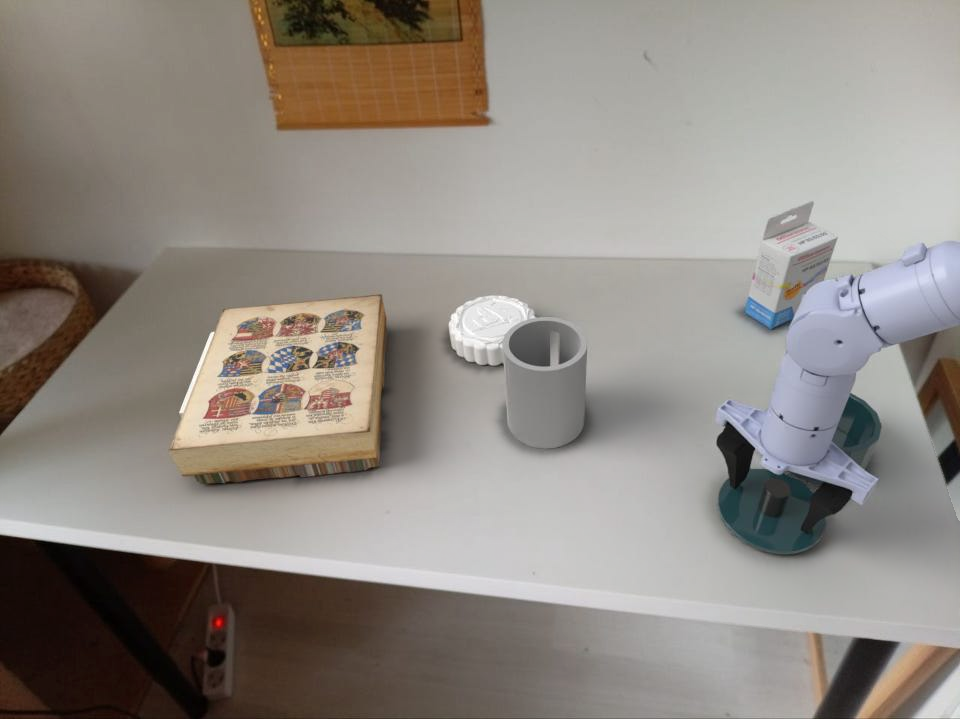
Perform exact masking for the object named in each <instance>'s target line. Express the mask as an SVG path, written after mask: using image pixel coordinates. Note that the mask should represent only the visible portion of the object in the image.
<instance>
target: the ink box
mask: <svg viewBox="0 0 960 719" xmlns="http://www.w3.org/2000/svg"><path fill="white" fill-rule="evenodd" d="M813 208H814V201H813V200H811V201H808V202H806V203H804V204H801V205H798V206H794V207H792V208H790V209H787V210H785V211H783V212H780V213H779V214H776V215H773V216H770V217H769V218H768V220H767V222H766V226H765V228H764V232H763V237H762V239H761V240H760V244H759V250H758V254H757V258H756V263H755V266H754V270H753V274H752V278H751V283H750V287H749V292H748V295H747V300H746V304H745V309H744V313H745V314H746V315H748V316H749V317H751V318H752V319H754V320H756V321H757V322H759V323H760V324H762V325H763V326H765V327H766V328H768V329H769V330H772V329H774V328H777V327H779V326H781V325H783V324H785V323H788V322H790V321H792V320H793V318H794V316H795V314H796V311H797V309H798V307H799V305H800V303H801V298H802V296H803V295H804V294H806V293H807V291H808V290H809V289H810V288H811V287H812V286H813V285H815V284H817V283H819V282H821V281H824V280H825V279H826V274H827V273H828V268H829V266H830V263H831V260H832V256H833V253H834V250H835V248H836V244H837V241H838V239H839V237H838V235H836V234H833V233H832V232H829V231H828V230H826V229H824V228H823V227H821V226H818V225H817V224H815V223H813V222H811V221H809V220H810V217H811V214H812V210H813ZM790 216H791V217H794V216H795V218H793V219H791V220H789V221H785V222H783V221H784V220H787V219H788V218H789V217H790ZM782 222H783V223H782Z"/></svg>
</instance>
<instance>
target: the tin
mask: <svg viewBox="0 0 960 719" xmlns="http://www.w3.org/2000/svg"><path fill="white" fill-rule="evenodd" d="M882 429H883V425H882V422H881V420H880V417H879V414H878V413H877V411H875V410H874V408H872V406H871V405H870V404H869V403H868V402H867V401H865V400H864V399H862V397H859V396H857V395H856V394H854V393H852V392H851V393H850V395H849V398H848V400H847V403H846V405H845V408H844V410H843V413H842V415H841V418H840V421H839V423H838V426H837V428H836V431H835V433H834V436H833V438H832V442H833V443H834V444H835V445H836V446H838V447H839V448H840V449H841V450H842V451H843V452H844V453H845V454H847V455H848V456H849V457H850V458H851V459H852V460H853V461H854V462H855V463H857V464H858V465H859V466H860V467H861V468H863V469H864V470H865V471H866V468H867V466H868V464H869V462H870V460H871V457H872V456H873V453H874V451H875V448H876V447H877V444H878V442H879V440H880V437H881V432H882ZM789 473H791V474H793V475H794V476H796V477H798V478H799V479H801V480H804V481H807V482H811V483H813V484H818V485H821V484H823V482H824V481H821V480H818V479H814V478H811V477H808V476H804V475H801V474H797V473H794V472H791V471H789Z"/></svg>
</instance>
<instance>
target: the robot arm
mask: <svg viewBox="0 0 960 719" xmlns="http://www.w3.org/2000/svg"><path fill="white" fill-rule="evenodd" d="M958 326H960V241H956V240H945V241H942V242H940V243H937V244H935V245H932V246H930V247H927V246H926V244H925V243H924V242H919V243H916V244H914V245H910V246H909V247H906V248H904V250H903V253H902V256H901V258H900V259H897V260H895V261H892V262H889V263H887V264H884V265H883V266H879V267H876V268H874V269H872V270H869V271H867V272H865V273H862V274H859V275H857V276H854V275H853V274H852V273H849V274H847V275H844V276H841V277H839V278H830V279H829V278H828V279H824V281H821V282H819V283H817V284H815V285H813V286H812V287H811V288H810V289H809V290H808V291H807V293H806V294H804V295H803V296H802V298H801V303H800V305H799V307H798V309H797V311H796V314H795V316H794V318H793V319H792V320H791V322H790V324H789V326H788V329H787V332H786V336H785V348H786V349H785V354H784V355H783V357H782V359H781V361H780V364H779V368H778V372H777V375H776V378H775V381H774V384H773V385H774V386H773V389H772V392H771V395H770V399H769V403H768V406H767V410H765V409H761V408H757V407H753V406H749V405H746V404H743V403H740V402H738V401H736V400H733V399H732V398H729V397H728V398H727V399H726V400H725V401H724V402H723V403H721V404H720V406H718V407H717V409H716V413H715V418H714V422H715V423H716V424H718V425H719V426H721V427H724V428H723V430H722V431H721V432H720V433H719V434H718V435H717V437H716V444H715V445H716V447H717V448H718V450H719V451H720V453H721V455H722V456H723V459H724V461H725V464H726V468H727V472H728V478H729V481H730V486H731V487H732V488H734V489H736V488H737V487H738V486H739V485H740V484H741V483H742V482H743V481H744V480H745V479H746V477H747V475H748V473H749V470H750V469H751V466H752V461H753V457H754V454H755V451H757V452H759V454H760V455H761V459H760V462H759V463H760V465H761V466H762V467H763V469H768V470H769V471H771V472H773V473H775V474H777V475H781V474H783V473H784V474H785V472H786V471H788V472H790V471H791V472H794V473H797V474H801V475H804V476H808V477H811V478H814V479H818V480H821V481H824V482H823V484H820V486H819V487H817V489H816V490H815V492H813V493H814V494H813V495H812V496H811V498H810V507H809V511H808V514H807V516H806V518H805V520H804V522H803V524H802V525H801V531H803V532H804V533H806V534H808V533H809V532H810V531H811V529H812V528H813V527H814V526H815V525H816V523H817V522H818V521H820V520H821V519H823V518H825V517H826V518H827V517H830V516H835V515H836V514H838V513H840V512H841V511H842V510H843V509H844V508H845V506H846V505H847V504H848V503H849V502H850V500H852V501H853V502H855V503H857V504H858V505H860V506H864V504H865V503H866V501H868V499H869V497H871V496H872V494H873V492H874V490H875V488H876V487H877V484H878V482H879V480H880V479H879V478H878V477H876V476H875V475H873V474H871V473H870V472H868V471H867V470H866V469H865V470H864V469H863V468H861V467H860V466H859V465H858V464H857V463H855V462H854V461H853V460H852V459H851V458H850V457H849V456H848V455H847V454H845V453H844V452H843V451H842V450H841V449H840V448H839V447H838V446H836V445H835V444H834V443H833V442H832V438H833V436H834V433H835V431H836V428H837V426H838V423H839V421H840V418H841V415H842V413H843V410H844V408H845V405H846V403H847V400H848V398H849V395H850V393H852V390H853V388H854V385H855V383H856V379H857V372H859V371H860V370H862V369H863V368H864V367H865V366H866V364H867V363H868V361H869V359H870V357H871V356H872V355H874V354H876V353H880V352H881V351H882V349H885V348H889V347H892V346H895V345H898V344H902V343H905V342H909V341H911V340H915V339H918V338H921V337H924V336H928V335H932V334H935V333H938V332H941V331H945V330H948V329H952V328H954V327H958ZM791 472H790V473H791Z"/></svg>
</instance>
